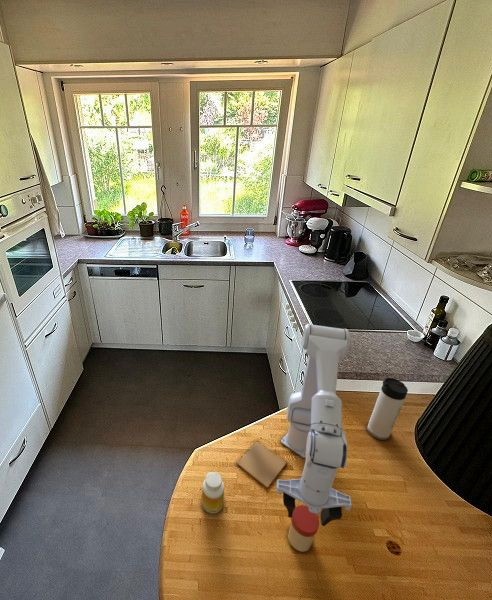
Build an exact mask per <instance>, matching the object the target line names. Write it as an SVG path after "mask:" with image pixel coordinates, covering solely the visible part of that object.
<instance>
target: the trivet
mask: <svg viewBox="0 0 492 600" xmlns="http://www.w3.org/2000/svg"><path fill="white" fill-rule="evenodd" d="M236 465H237V466H239V467H240V468H241V469H242V470H243V471H244V472H246V473H247V474H248V475H249V476H251V477H252V478H253V479H255V480H256V481H257V482H259V483H260V484H261V485H262V486H264V488H266V489H268V488H269V487H270V486H271V485H272V483H273V482H274V480H275V479H276V478H277V476H279V474H280V473H281V472H282V470H283V469H284V467H286V465H287V461H285V460H284V459H282V457H280V456H278V455H277V454H275V453H274V452H273V451H272V450H270V449H269V448H267V447H266V446H264V445H263V444H262V443H260V442H259V441H256V442H255V443H254V445H253V446H252V447H251V448H250V449H249V450H248V451H247V452H246V453H245V454H244V455H243V456H242V457H241V458H240V460H239V461H238V462H237V463H236Z"/></svg>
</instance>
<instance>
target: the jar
mask: <svg viewBox="0 0 492 600" xmlns="http://www.w3.org/2000/svg"><path fill="white" fill-rule="evenodd" d="M287 533H288V535H287V539H288V541H289V543H290V545H291V546H292V548H293V549H295V551H299V552H308V551H309V550H310V549H311V546H312V543H313V541H314V537H315V535H314V536H312V537H305V536H302V535H300V534H299V533H298V532H297V531H296V530H295V529H294V527H293V526H292V523H291V522H290V525H289V529H288V532H287Z"/></svg>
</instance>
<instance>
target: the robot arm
mask: <svg viewBox="0 0 492 600" xmlns="http://www.w3.org/2000/svg"><path fill="white" fill-rule="evenodd" d="M350 346H351V332H350V330H349V329H347V328H340V327H331V326H325V325H316V324H310V323H306V324H305V325H304V327H303V331H302V337H301V347H302V348H303V350H305V351H306V355H307V356H308V357H307V361H306V368H305V370H304V371H305V372H304V377H303V381H302V387H301V390H300V391H296V392H293V393H291V394H290V396H289V400H288V401H287V407H286V420H287V421H288V422H289V425H288V429H287V433H286V434H285V435H284V436H283V437H282V439H281V440H280V443H281V444H283V445H284V446H285V447H287V448H288V449H290V450H291V451H292V452H294V453H295V454H297V455H298V456H300V457H302V458H304V459H305V461H304V466H303V469H302V473H301V477H300V478H293V479H278V478H277V480H276V487H275V491H276V494H278V495H282V503H283V506H284V507H285V508H286V510H287V516H288V518H290V519H291V518H292V515H293V510H294V509H295V507H296V501H298V502H300V503H302V504H303V505H304V506H308V507H309V511H310V512H312V513H316V514H317V515H319V514H320V525H321V526H322V527H325V526H327V524H329V523H331V522H333V521H335V520H341V519H342V517H343V510H346V511H351V508H352V505H353V504H352V498H351V495H349V494H345V493H343V492H341V491H339V490H337V489H335V488H333V485H334V482H335V478H336V475H337V473H338V470H339V469H340V468H341V469H345V468H346V465H347V460H348V440H347V437H346V430H345V429H343V401H342V400H341V398H340V397H339V396H338V395H337V383H338V373H339V362H341V361H343V360H344V358H345V357H346V355H347V354H348V352H349V350H350ZM342 509H343V510H342Z"/></svg>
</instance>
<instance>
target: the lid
mask: <svg viewBox="0 0 492 600" xmlns="http://www.w3.org/2000/svg"><path fill="white" fill-rule="evenodd" d="M290 521H291V522H290V524H291V523H292V526H293V527H294V529H295V530H296V531H297V532H298V533H299V534H300V535H302V536H305V537H312V536H314V537H315V535H316V534H317V532H318V530H319V527H320V519H319V516H318V514H316V513H312V512H310V511H309V507H308V506H307V505H305V504H300V505H297V506H295V509H294V510H293V515H292V518H290Z"/></svg>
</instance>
